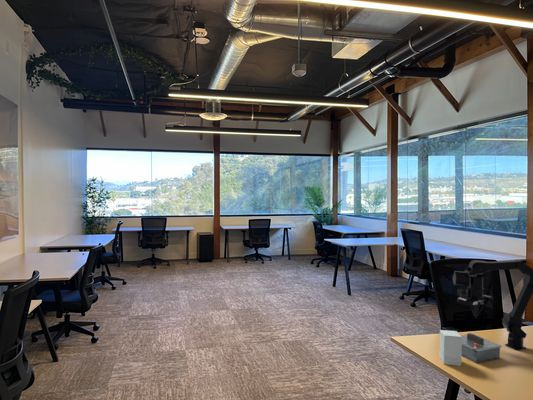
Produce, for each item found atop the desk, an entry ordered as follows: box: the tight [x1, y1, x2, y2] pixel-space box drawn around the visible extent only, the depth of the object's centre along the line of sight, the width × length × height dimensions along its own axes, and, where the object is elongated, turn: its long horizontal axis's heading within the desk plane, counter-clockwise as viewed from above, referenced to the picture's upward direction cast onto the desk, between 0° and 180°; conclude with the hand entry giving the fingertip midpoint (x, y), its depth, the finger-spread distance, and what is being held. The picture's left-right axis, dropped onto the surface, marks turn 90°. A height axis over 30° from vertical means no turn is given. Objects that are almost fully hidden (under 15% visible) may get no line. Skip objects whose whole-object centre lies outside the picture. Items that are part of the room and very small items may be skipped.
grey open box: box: [462, 345, 501, 364], centre depth 169 cm, size 14×14×5 cm
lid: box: [461, 332, 502, 352], centre depth 169 cm, size 15×15×3 cm
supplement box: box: [438, 329, 463, 367], centre depth 161 cm, size 7×7×13 cm
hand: (475, 317), depth 182 cm, fingers closed
